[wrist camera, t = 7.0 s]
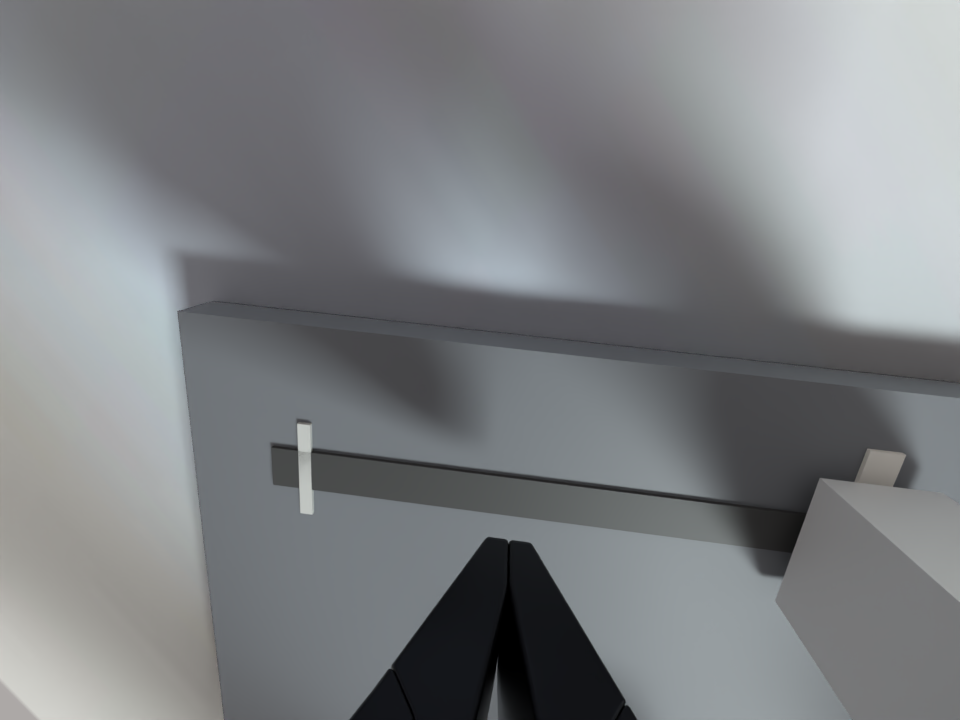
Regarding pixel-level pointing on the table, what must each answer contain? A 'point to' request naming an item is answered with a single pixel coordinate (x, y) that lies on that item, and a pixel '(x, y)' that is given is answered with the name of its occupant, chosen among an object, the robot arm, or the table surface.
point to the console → (524, 499)
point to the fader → (880, 598)
